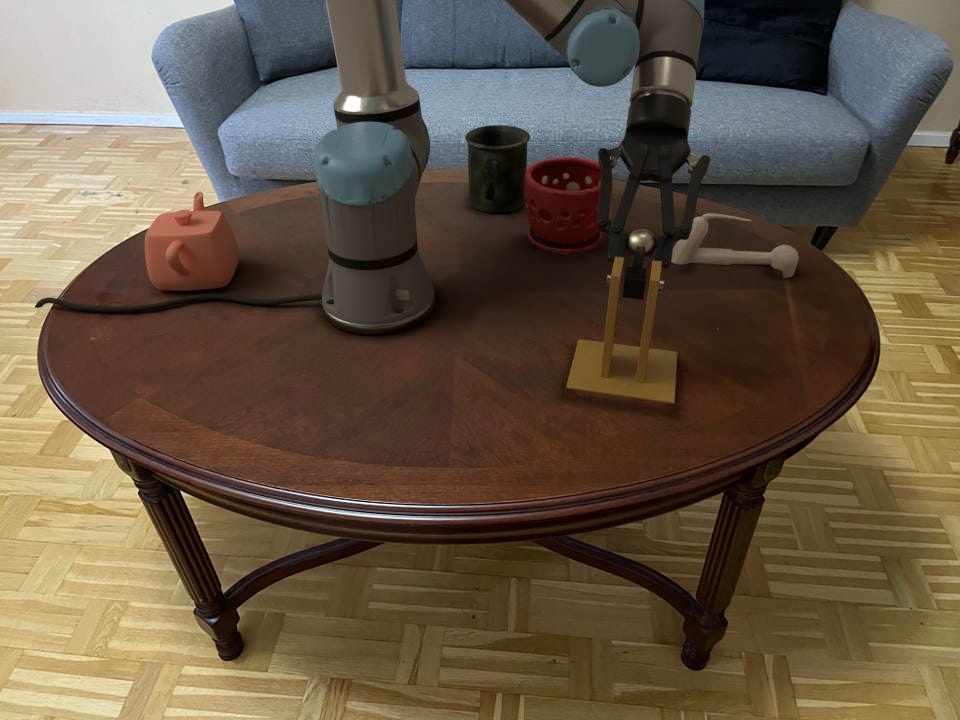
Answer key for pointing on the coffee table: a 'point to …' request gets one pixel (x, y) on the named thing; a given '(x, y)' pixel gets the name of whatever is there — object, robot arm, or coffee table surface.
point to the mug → (497, 167)
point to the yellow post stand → (626, 353)
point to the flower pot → (563, 205)
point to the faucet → (730, 250)
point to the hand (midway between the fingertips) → (634, 290)
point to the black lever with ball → (638, 262)
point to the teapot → (191, 249)
